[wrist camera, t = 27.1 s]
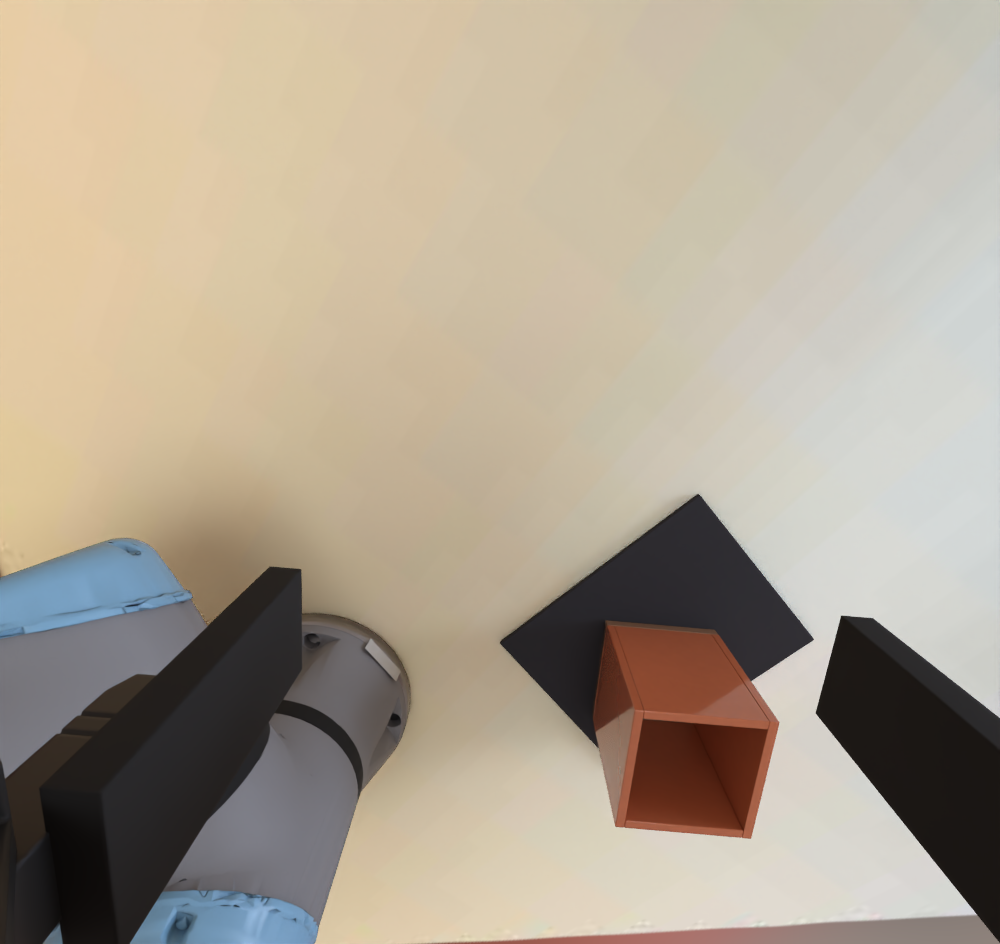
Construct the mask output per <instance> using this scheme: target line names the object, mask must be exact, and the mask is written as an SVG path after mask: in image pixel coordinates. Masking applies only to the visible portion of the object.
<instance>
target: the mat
mask: <svg viewBox="0 0 1000 944" xmlns="http://www.w3.org/2000/svg"><path fill="white" fill-rule="evenodd" d="M606 620H608V621H620V622H631V623H643V624H655V625H666V626H678V627H689V628H701V629H712V630H716V632H717V633H718V635H719V636H720V637H721V639H722V640H723V642H724V643H725V644H726V646H727V647H728V649H729V650H730V652H731V653H732V655H733V656H734V657H735V659H736V660H737V662H738V663H739V665H740V666H741V668H742V669H743V671H744V672H745V673H746V675H747V676H748V678H749V679H750V681H752V680H753V679H755V678H756V677H758V676H760V675H761V674H763V673H764V672H766V671H767V670H769V669H770V668H772V667H773V666H775V665H776V664H778V663H779V662H781V661H782V660H784V659H785V658H787V657H788V656H790V655H791V654H793V653H794V652H796V651H797V650H799V649H800V648H802V647H804V646H805V645H807V644H808V643H810V642H811V641H813V640H814V639H813V638H812V636H811V635H810V634H809V632H808V631H807V630H806V629H805V627H804V626H803V625H802V624H801V622H800V621H799V620H798V619H797V617H796V616H795V615H794V614H793V612H792V611H791V610H790V608H789V607H788V606H787V605H786V603H785V602H784V601H783V600H782V598H781V597H780V596H779V595H778V593H777V592H776V591H775V590H774V588H773V587H772V586H771V584H770V583H769V582H768V581H767V579H766V578H765V577H764V576H763V574H762V573H761V572H760V571H759V569H758V568H757V567H756V566H755V564H754V563H753V562H752V560H751V559H750V558H749V557H748V555H747V554H746V553H745V552H744V550H743V549H742V548H741V547H740V545H739V544H738V543H737V542H736V540H735V539H734V538H733V536H732V535H731V534H730V533H729V531H728V530H727V529H726V528H725V526H724V525H723V524H722V523H721V521H720V520H719V519H718V518H717V516H716V515H715V514H714V512H713V511H712V510H711V509H710V507H709V506H708V505H707V504H706V502H705V501H704V500H703V499H702V497H701V496H700V495H699V494H698V495H696V496H695V497H694V498H692V499H691V500H690V501H688V502H687V503H686V504H684V505H683V506H682V507H680V508H679V509H678V510H676V511H675V512H674V513H672V514H671V515H670V516H668V517H667V518H666V519H664V520H663V521H662V522H660V523H659V524H658V525H656V526H655V527H653V528H652V529H651V530H649V531H648V532H647V533H645V534H644V535H643V536H641V537H640V538H639V539H637V540H636V541H635V542H633V543H632V544H631V545H629V546H628V547H627V548H625V549H624V550H623V551H621V552H620V553H619V554H617V555H616V556H615V557H613V558H612V559H611V560H609V561H608V562H607V563H605V564H604V565H602V566H601V567H600V568H598V569H597V570H596V571H594V572H593V573H592V574H590V575H589V576H588V577H586V578H585V579H584V580H582V581H581V582H580V583H578V584H577V585H576V586H574V587H573V588H572V589H570V590H569V591H568V592H566V593H565V594H564V595H562V596H561V597H560V598H558V599H557V600H555V601H554V602H553V603H551V604H550V605H549V606H547V607H546V608H545V609H543V610H542V611H541V612H539V613H538V614H537V615H535V616H534V617H533V618H531V619H530V620H529V621H527V622H526V623H525V624H523V625H522V626H521V627H519V628H518V629H517V630H515V631H514V632H513V633H511V634H510V635H509V636H507V637H506V638H504V639H503V640H502V641H501V645H502V646H503V647H504V648H505V649H506V650H507V651H508V652H509V653H510V654H511V655H512V657H513V658H514V659H515V660H516V661H517V662H518V663H519V664H520V665H521V666H522V667H523V668H524V669H525V670H526V671H527V672H528V674H529V675H530V676H531V677H532V678H533V679H534V680H535V681H536V682H537V683H538V684H539V685H540V686H541V687H542V688H543V690H544V691H545V692H546V693H547V694H548V695H549V696H550V697H551V698H552V699H553V700H554V701H555V702H556V703H557V704H558V706H559V707H560V708H561V709H562V710H563V711H564V712H565V713H566V714H567V715H568V716H569V717H570V718H571V719H572V720H573V722H574V723H575V724H576V725H577V726H578V727H579V728H580V729H581V730H582V731H583V732H584V733H585V734H586V735H587V736H588V738H589V739H590V740H591V741H592V742H593V743H594V744H595V745H596V746H597V747H598V748H599V746H598V742H597V737H596V732H595V727H594V722H593V717H592V710H593V703H594V696H595V689H596V682H597V675H598V668H599V661H600V655H601V648H602V641H603V634H604V627H605V621H606Z"/></svg>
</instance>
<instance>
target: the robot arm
mask: <svg viewBox="0 0 1000 944" xmlns="http://www.w3.org/2000/svg"><path fill="white" fill-rule="evenodd" d="M191 598H193V597H192V594H191V592H190V591H189V590H185V589H184V588H183V587H182V586H181V584H180V583H179V582H178V580H177V579H176V578H175V576H174V575H173V574H172V572H171V571H170V569H169V568H168V567H167V565H166V564H165V563H164V561H163V560H162V559H161V557H160V556H159V555H158V553H157V552H156V551H155V550H154V549H153V548H152V547H151V546H149V545H148V544H146V543H144V542H142V541H139V540H136V539H130V538H119V539H111V540H108V541H104V542H101V543H98V544H95V545H92V546H89V547H86V548H83V549H80V550H77V551H74V552H71V553H68V554H66V555H63V556H60V557H57V558H54V559H51V560H48V561H46V562H43V563H40V564H37V565H34V566H32V567H29V568H26V569H23V570H20V571H17V572H15V573H12V574H9V575H6V576H3V577H1V578H0V944H314V943H315V941H316V937H317V933H318V927H319V924H320V921H321V918H322V914H323V911H324V908H325V905H326V902H327V898H328V895H329V892H330V889H331V885H332V882H333V879H334V876H335V873H336V869H337V866H338V863H339V860H340V857H341V853H342V850H343V847H344V844H345V840H346V837H347V834H348V831H349V828H350V824H351V821H352V818H353V815H354V811H355V808H356V804H357V802H358V799H359V796H360V793H361V791H362V790H363V788H364V787H365V786H366V785H367V784H368V782H369V781H370V780H371V779H372V777H373V776H374V775H375V774H376V773H377V771H378V770H379V769H380V768H381V766H382V765H383V764H384V763H385V762H386V760H387V759H388V758H389V757H390V755H391V754H392V753H393V751H394V750H395V748H396V747H397V745H398V744H399V742H400V740H401V738H402V735H403V732H404V729H405V726H406V722H407V718H408V714H409V710H410V686H409V682H408V678H407V675H406V672H405V670H404V668H403V666H402V664H401V662H400V660H399V659H398V657H397V656H396V654H395V653H394V652H393V650H392V649H391V648H390V647H389V646H388V645H387V643H385V642H384V641H383V640H382V639H381V638H380V637H379V636H377V635H376V634H375V633H373V632H372V631H370V630H369V629H367V628H366V627H364V626H362V625H360V624H358V623H356V622H353V621H351V620H348V619H345V618H342V617H338V616H333V615H327V614H302V582H301V569H292V568H280V567H269V568H268V569H267V570H266V571H265V572H264V573H263V574H262V575H261V576H260V577H259V578H257V579H256V580H255V581H254V582H253V583H252V584H251V585H250V586H249V587H248V588H247V589H246V590H245V591H244V592H243V593H242V594H241V595H240V596H239V597H238V598H237V599H236V600H235V601H233V602H232V603H231V604H230V605H229V606H228V607H227V608H226V609H225V610H224V611H223V612H222V613H221V614H220V615H219V616H218V617H217V618H216V619H215V620H214V621H213V622H212V623H210V624H209V625H208V626H207V624H206V623H205V621H204V620H203V618H202V616H201V615H200V613H199V612H198V610H197V608H196V607H195V605H194V603H193V602H192V600H191ZM816 714H817V715H818V717H819V718H820V719H821V720H822V722H823V723H824V724H825V725H826V727H827V728H828V729H829V730H830V732H831V733H832V734H833V735H834V737H835V738H836V739H837V740H838V742H839V743H840V744H841V745H842V747H843V748H844V749H845V750H846V752H847V753H848V754H849V755H850V757H851V758H852V759H853V760H854V762H855V763H856V764H857V765H858V767H859V768H860V769H861V770H862V772H863V773H864V774H865V775H866V777H867V778H868V779H869V780H870V782H871V783H872V784H873V785H874V787H875V788H876V789H877V790H878V792H879V793H880V794H881V795H882V797H883V798H884V799H885V800H886V802H887V803H888V804H889V805H890V807H891V808H892V809H893V810H894V811H895V813H896V814H897V815H898V816H899V818H900V819H901V820H902V821H903V823H904V824H905V825H906V826H907V828H908V829H909V830H910V831H911V833H912V834H913V835H914V836H915V838H916V839H917V840H918V841H919V843H920V844H921V845H922V846H923V848H924V849H925V850H926V851H927V853H928V854H929V855H930V856H931V858H932V859H933V860H934V861H935V863H936V864H937V865H938V866H939V868H940V869H941V870H942V871H943V873H944V874H945V875H946V876H947V878H948V879H949V880H950V881H951V883H952V884H953V885H954V886H955V888H956V889H957V890H958V891H959V893H960V894H961V895H962V896H963V898H964V899H965V900H966V901H967V903H968V904H969V905H970V906H971V908H972V909H973V910H974V911H975V913H976V914H977V915H978V916H979V917H980V919H981V920H982V921H983V922H984V924H985V925H986V926H987V927H988V929H989V930H990V931H991V932H992V933H993V935H994V936H995V937H996V939H997V940H998V941H999V942H1000V718H999V717H998V716H996V715H995V714H994V713H993V712H991V711H990V710H989V709H987V708H986V707H985V706H984V705H982V704H981V703H980V702H979V701H977V700H976V699H975V698H973V697H972V696H971V695H970V694H968V693H967V692H966V691H965V690H963V689H962V688H961V687H959V686H958V685H957V684H956V683H954V682H953V681H952V680H951V679H949V678H948V677H947V676H946V675H944V674H943V673H942V672H940V671H939V670H938V669H937V668H935V667H934V666H933V665H932V664H930V663H929V662H928V661H926V660H925V659H924V658H923V657H921V656H920V655H919V654H918V653H916V652H915V651H914V650H912V649H911V648H910V647H909V646H907V645H906V644H905V643H904V642H902V641H901V640H900V639H898V638H897V637H896V636H895V635H893V634H892V633H891V632H890V631H888V630H887V629H886V628H884V627H883V626H882V625H881V624H879V623H878V622H877V621H876V620H874V619H873V618H863V617H851V616H841V619H840V623H839V627H838V630H837V634H836V638H835V642H834V646H833V649H832V653H831V657H830V661H829V665H828V668H827V672H826V676H825V680H824V684H823V687H822V691H821V695H820V699H819V703H818V706H817V710H816Z"/></svg>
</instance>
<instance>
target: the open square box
mask: <svg viewBox="0 0 1000 944" xmlns="http://www.w3.org/2000/svg"><path fill="white" fill-rule="evenodd" d="M592 717H593V722H594V727H595V732H596V737H597V742H598V746H599V751H600V756H601V761H602V765H603V770H604V775H605V780H606V784H607V789H608V794H609V799H610V804H611V808H612V813H613V818H614V823H615V826H616V827H625V828H636V829H647V830H659V831H670V832H682V833H693V834H705V835H717V836H728V837H740V838H741V837H742V838H749V839H751V836H752V832H753V828H754V824H755V820H756V816H757V812H758V808H759V804H760V800H761V796H762V791H763V787H764V783H765V779H766V775H767V771H768V767H769V763H770V759H771V755H772V751H773V747H774V743H775V739H776V734H777V730H778V726H779V721H778V720H777V718H776V717H775V716H774V714H773V713H772V711H771V710H770V708H769V707H768V705H767V704H766V702H765V701H764V700H763V698H762V697H761V695H760V694H759V692H758V691H757V689H756V688H755V687H754V685H753V684H752V682H751V681H750V679H749V678H748V676H747V675H746V673H745V672H744V671H743V669H742V668H741V666H740V665H739V663H738V662H737V660H736V659H735V657H734V656H733V655H732V653H731V652H730V650H729V649H728V647H727V646H726V644H725V643H724V642H723V640H722V639H721V637H720V636H719V635H718V633H717V632H716V630H712V629H701V628H689V627H678V626H666V625H655V624H643V623H631V622H620V621H608V620H606V621H605V627H604V634H603V641H602V648H601V655H600V661H599V668H598V675H597V682H596V689H595V696H594V703H593V710H592Z"/></svg>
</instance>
